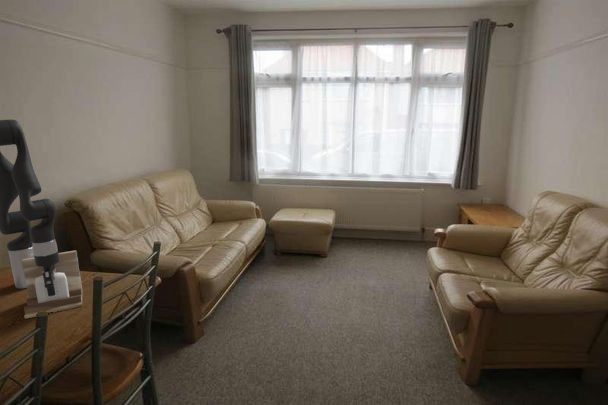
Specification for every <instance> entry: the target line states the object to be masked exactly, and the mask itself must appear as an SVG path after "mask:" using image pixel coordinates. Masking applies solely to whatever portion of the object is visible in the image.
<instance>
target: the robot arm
mask: <svg viewBox="0 0 608 405" xmlns="http://www.w3.org/2000/svg"><path fill="white" fill-rule="evenodd" d="M25 136H26V135H25V133H24V130H23V127H22V125H21V124H20V123H19V121H18V120H16V119H0V147H1V146H4V147H5V146H12V145H13V146H14V145H15V146H16V152H17V153H16V159H15V161H14V163H12V162H11V161H10V160H9V159H7V158H6V156H5V155H4V154H3V153H2V152H1V151H0V233H1V234H2V235H6V236H7V235H14V234H18V233H19V234H20V235H19V236H18V237H16V238H15V239H12V240H10V241H8V242H7V244H6V247H7V248H6V249H7V253H8V257H9V262H10V266H11V267H10V268H11V271H12V275H13V276H12V277H13V281H14V287H15V288H16V289H27V285H26V280H25V275H24V270H23V265H22V259H25V258H32V257H34V259H35V264H36V266H38V267H44V268H43V270H42V274H43V278H44V283H45V288H47V292H48V296H54V295H55V289H54V280H55V273H56V267H55V265H54V264H56V263H58V262H59V255H58V253H59V251H58V244H57V241H56V238H55V232H54V226H55V225H54V224H55V216H56V204H55V203H54V201H53V200H51V199H49V198H42V199H38V200H37V199H36V200H31V198H32V197H34V196H37V195H39V194H40V193H41V192H42V187H41V186H42V185H40V181H39V179H38V176H37V175H36V173H35V170H34V167H33V163H32V160H31V159H32V158H31V155H30V152H29V147H28V144H27V143H28V142H27V139H26V137H25ZM18 197H19V198H18ZM17 198H18V199H19V210H17V211H10V212H9V210H10V208H11V206H12V204H13V203H14V202H15V201H16V200H17ZM37 220H41V221H40V223H37V224H36V225H33V226H32V221H37ZM48 281H51V284H48V283H47V282H48Z"/></svg>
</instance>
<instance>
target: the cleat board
mask: <svg viewBox="0 0 608 405" xmlns="http://www.w3.org/2000/svg"><path fill="white" fill-rule="evenodd" d="M58 255H59V262H58V263H56V264H54V265H55V267H56V273H64V274H65V276H66V278H67V283H68V290H69V297H67V298H62V299H57V300H53V301H48V302H43V303H38V300H37V294H36V288H35V281H36V280H35V279H36V278H37V277H39V276H42V275H43V274H42V270H43V268H44V267H38V266H36V264H35V259H34V257H32V258H25V259H22V265H23V270H24V275H25V280H26V285H27V288H26V290H27V294H28V295H27V296H28V298H27V299H26V304H27V305H26V306H23V309H24V310H23V311H24V319H29V318H35V317H37V316H36V314H37V313H38V312H40V311H46V312H53V313H57V311H58V312H61V311H66V310H67V311H68V310H70V309H75V308H80V307H82V306H83V286H82V278H81V274H80V268H79V267H80V266H79V259H78V252H77V250H71V251H64V252H58Z"/></svg>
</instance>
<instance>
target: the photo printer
mask: <svg viewBox="0 0 608 405" xmlns="http://www.w3.org/2000/svg"><path fill="white" fill-rule="evenodd" d="M35 280H36V281H35V288H36V294H37V300H38V303H43V302H48V301H53V300H57V299H62V298H67V297H69V290H68V283H67V278H66V276H65V274H64V273H55V280H54V289H55V295H54V296H48V292H47V288H45V283H44V278H43V275H42V276H39V277H37V278H36V279H35ZM47 283H48V284H51V281H48V282H47Z"/></svg>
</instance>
